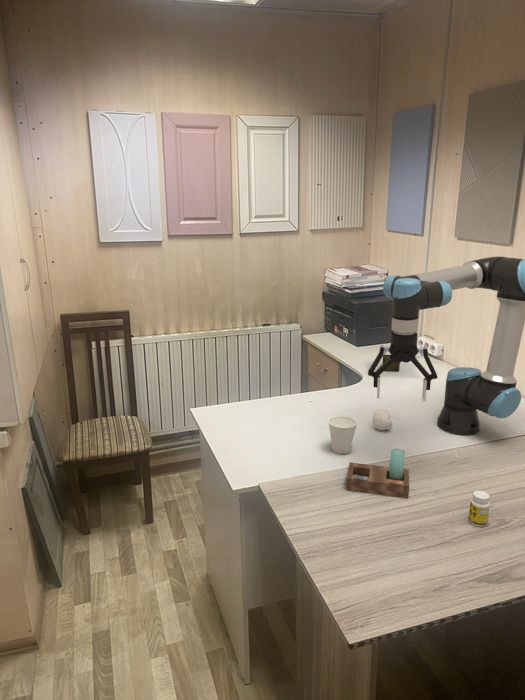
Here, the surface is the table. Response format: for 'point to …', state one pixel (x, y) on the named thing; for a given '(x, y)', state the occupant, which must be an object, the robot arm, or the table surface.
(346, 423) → the cup
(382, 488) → the socket block
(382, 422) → the beige round lump
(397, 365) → the wooden crate
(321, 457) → the table surface
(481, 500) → the supplement bottle
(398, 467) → the plug
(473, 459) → the table surface
